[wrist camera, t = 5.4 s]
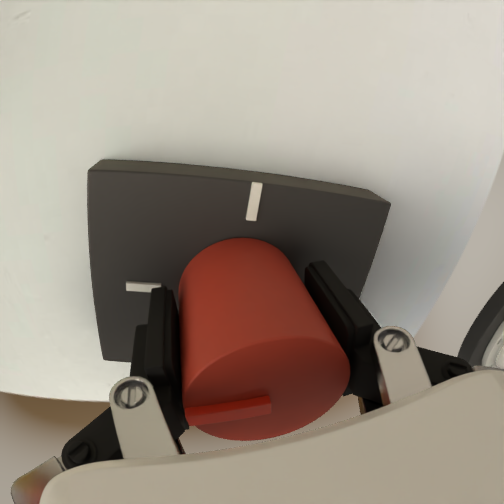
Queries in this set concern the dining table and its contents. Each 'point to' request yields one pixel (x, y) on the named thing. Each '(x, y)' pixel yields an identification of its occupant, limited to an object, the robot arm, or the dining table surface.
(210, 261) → the near red knob
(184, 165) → the dark tick-marked fixture
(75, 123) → the dining table surface
